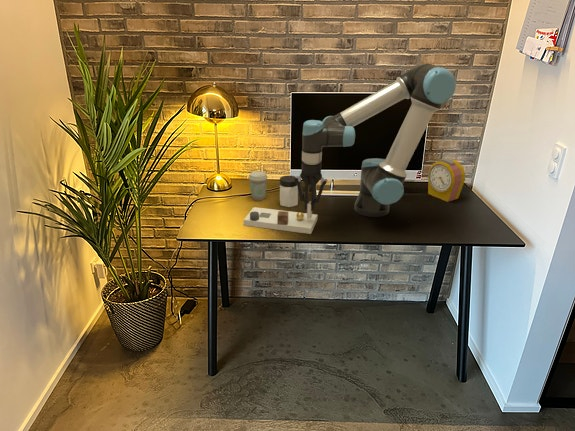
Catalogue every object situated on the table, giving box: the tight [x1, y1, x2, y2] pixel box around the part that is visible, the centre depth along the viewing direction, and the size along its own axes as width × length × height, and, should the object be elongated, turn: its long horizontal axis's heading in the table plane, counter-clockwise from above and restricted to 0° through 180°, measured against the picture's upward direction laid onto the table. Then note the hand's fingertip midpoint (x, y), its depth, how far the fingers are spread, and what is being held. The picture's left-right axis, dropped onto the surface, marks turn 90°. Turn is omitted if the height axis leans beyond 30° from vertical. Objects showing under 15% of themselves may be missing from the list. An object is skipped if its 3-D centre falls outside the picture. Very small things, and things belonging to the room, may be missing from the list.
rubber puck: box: [249, 212, 259, 221], centre depth 185 cm, size 4×4×2 cm
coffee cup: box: [248, 170, 268, 201], centre depth 209 cm, size 8×8×12 cm
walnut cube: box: [277, 210, 288, 225], centre depth 182 cm, size 4×4×4 cm
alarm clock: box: [427, 158, 466, 203], centre depth 212 cm, size 15×8×18 cm, turn 33°
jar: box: [279, 175, 299, 208], centre depth 204 cm, size 9×8×12 cm
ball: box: [296, 211, 304, 220], centre depth 185 cm, size 3×3×3 cm
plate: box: [243, 206, 319, 235], centre depth 188 cm, size 28×13×2 cm, turn 75°
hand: (309, 217), depth 184 cm, fingers closed
